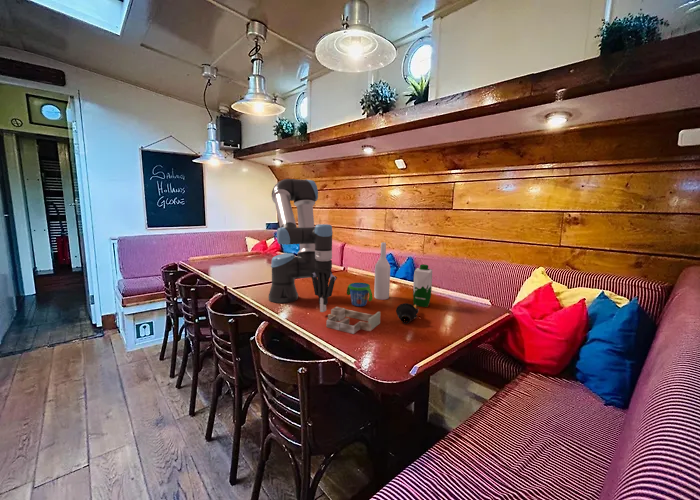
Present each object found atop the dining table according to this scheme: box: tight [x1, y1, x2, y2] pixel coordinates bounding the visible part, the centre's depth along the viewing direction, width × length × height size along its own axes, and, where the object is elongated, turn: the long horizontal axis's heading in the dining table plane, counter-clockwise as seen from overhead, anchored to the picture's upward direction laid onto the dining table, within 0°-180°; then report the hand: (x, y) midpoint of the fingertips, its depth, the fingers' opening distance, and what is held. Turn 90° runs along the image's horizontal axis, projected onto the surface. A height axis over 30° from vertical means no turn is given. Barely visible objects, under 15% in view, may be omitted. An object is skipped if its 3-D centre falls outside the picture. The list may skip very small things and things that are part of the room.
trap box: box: [325, 308, 381, 335], centre depth 129 cm, size 20×16×5 cm
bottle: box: [373, 241, 391, 301], centre depth 165 cm, size 8×8×30 cm
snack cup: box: [346, 282, 373, 307], centre depth 154 cm, size 16×10×10 cm
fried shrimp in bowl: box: [395, 303, 420, 324], centre depth 137 cm, size 9×11×18 cm
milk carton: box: [412, 264, 433, 308], centre depth 155 cm, size 9×9×20 cm
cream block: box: [330, 306, 346, 322], centre depth 135 cm, size 4×4×4 cm
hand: (323, 311), depth 139 cm, fingers closed
